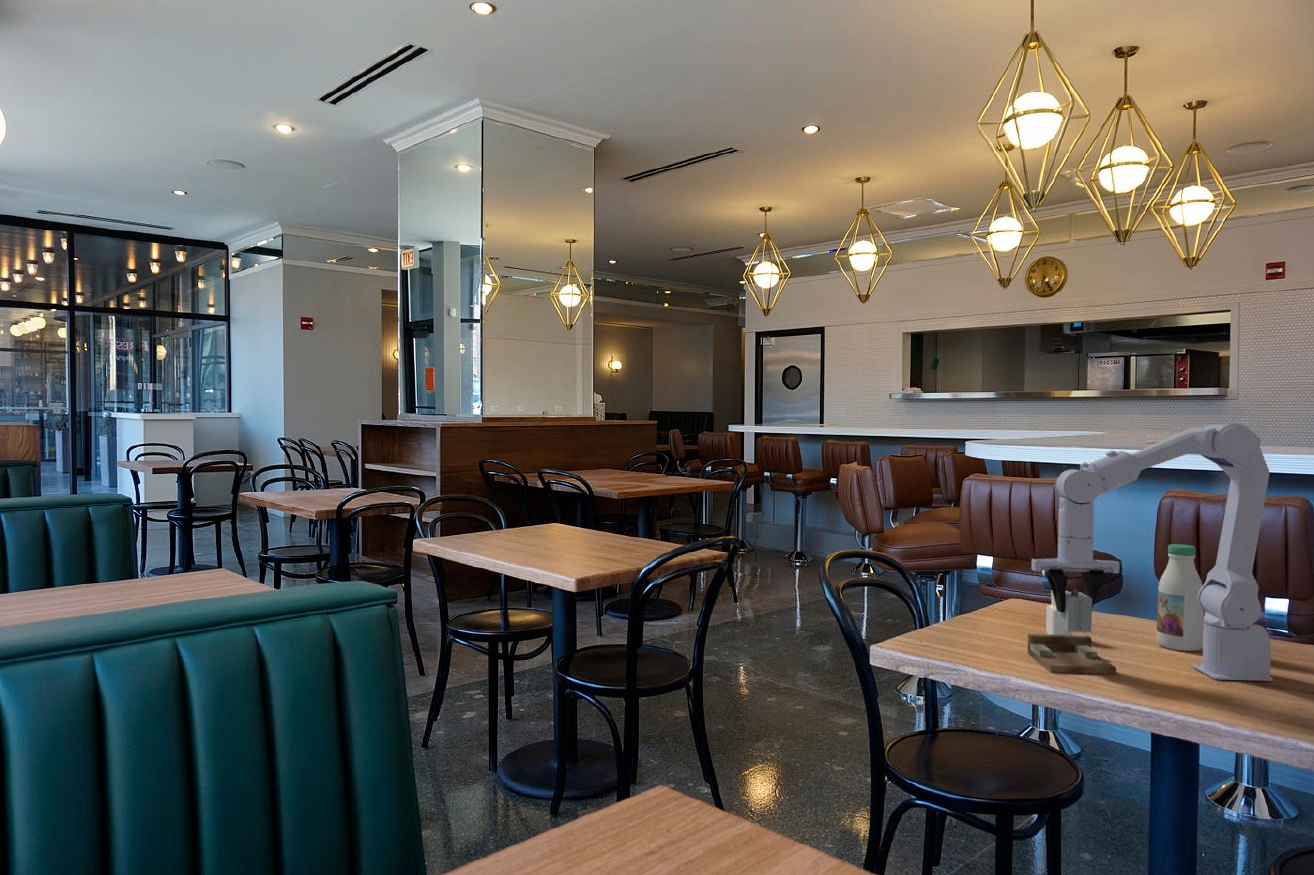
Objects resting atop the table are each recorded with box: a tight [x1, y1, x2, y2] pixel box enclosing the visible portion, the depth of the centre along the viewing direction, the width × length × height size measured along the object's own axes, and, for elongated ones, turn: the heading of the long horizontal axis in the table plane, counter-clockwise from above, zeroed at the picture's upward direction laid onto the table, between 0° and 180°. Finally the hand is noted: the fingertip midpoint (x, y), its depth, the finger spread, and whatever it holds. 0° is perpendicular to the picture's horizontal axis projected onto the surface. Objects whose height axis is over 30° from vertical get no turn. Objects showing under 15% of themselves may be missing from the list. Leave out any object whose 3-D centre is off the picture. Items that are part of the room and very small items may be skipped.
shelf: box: [1027, 633, 1117, 675], centre depth 157 cm, size 11×12×4 cm
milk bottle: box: [1156, 543, 1205, 652], centre depth 168 cm, size 8×8×20 cm
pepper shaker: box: [1045, 589, 1073, 635], centre depth 175 cm, size 4×4×10 cm
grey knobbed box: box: [1057, 589, 1093, 634], centre depth 153 cm, size 4×7×7 cm, turn 175°
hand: (1073, 611), depth 155 cm, fingers closed on grey knobbed box, 4 cm apart
